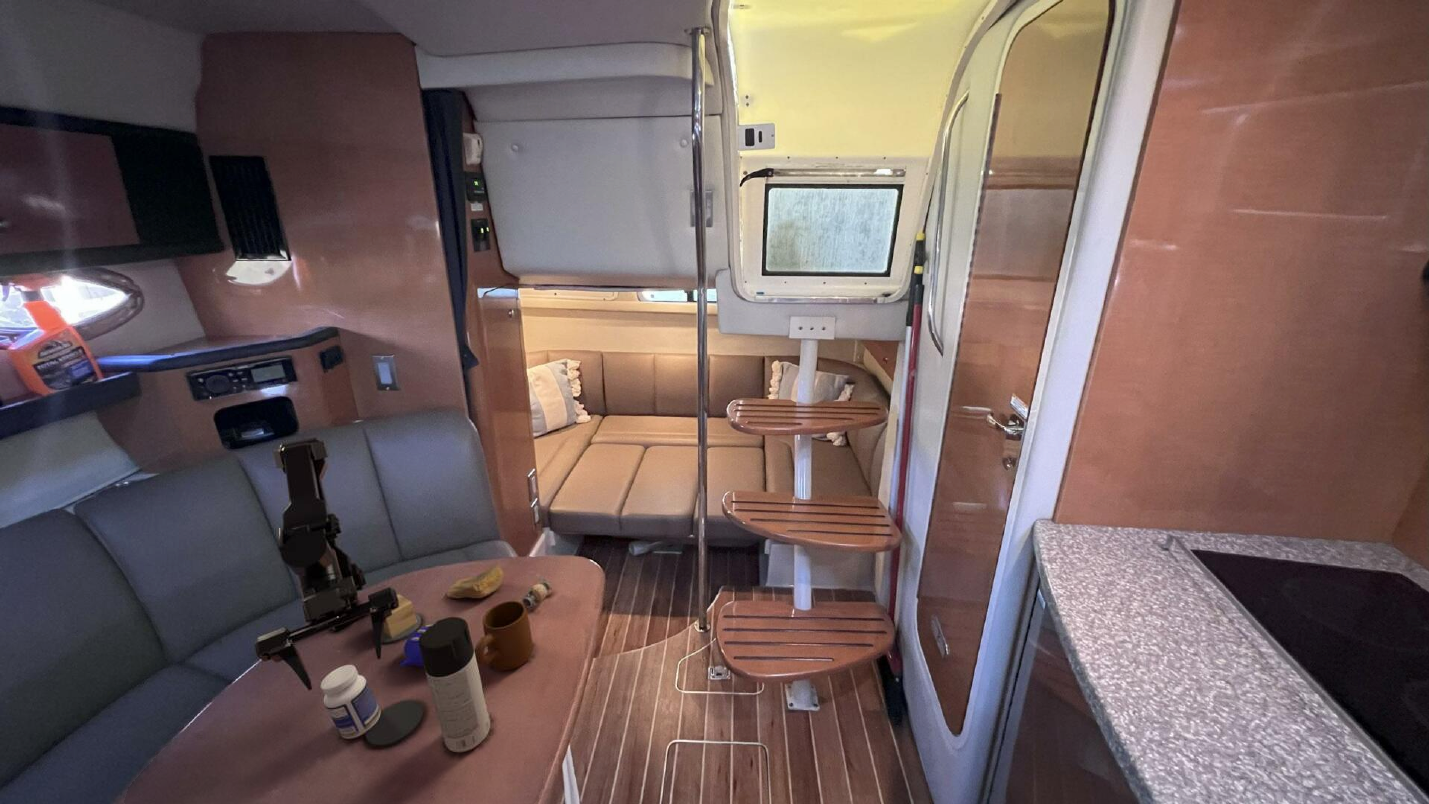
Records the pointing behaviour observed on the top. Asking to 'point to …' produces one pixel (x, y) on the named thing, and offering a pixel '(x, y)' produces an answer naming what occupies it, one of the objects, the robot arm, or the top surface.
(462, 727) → the spray can
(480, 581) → the stone
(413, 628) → the coaster
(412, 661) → the decorative object
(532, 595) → the vase
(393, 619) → the block
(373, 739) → the coaster
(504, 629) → the mug
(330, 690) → the pill bottle
